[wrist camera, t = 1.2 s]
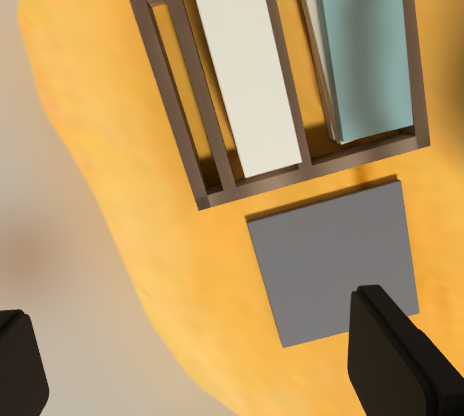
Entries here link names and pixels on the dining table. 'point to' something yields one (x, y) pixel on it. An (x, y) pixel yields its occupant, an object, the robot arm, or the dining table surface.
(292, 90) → the walnut rack
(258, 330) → the dining table surface
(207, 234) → the dining table surface
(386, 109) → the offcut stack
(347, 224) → the rubber mat
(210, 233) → the dining table surface
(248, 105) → the white rectangular block
